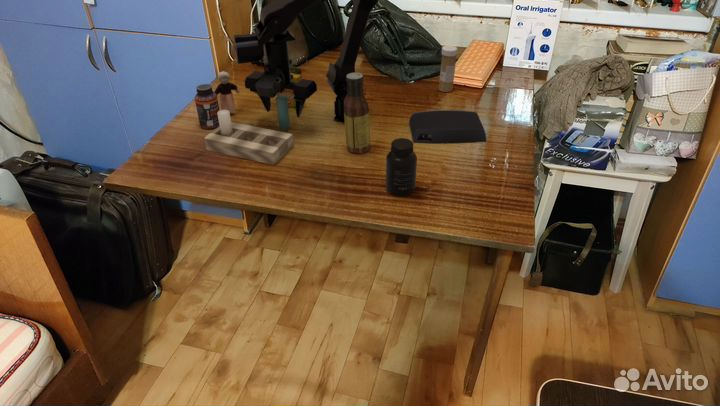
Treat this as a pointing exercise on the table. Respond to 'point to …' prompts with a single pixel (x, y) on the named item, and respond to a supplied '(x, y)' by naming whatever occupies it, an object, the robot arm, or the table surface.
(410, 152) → the supplement bottle
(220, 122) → the cream peg
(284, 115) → the teal peg
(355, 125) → the sauce bottle
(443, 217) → the table surface
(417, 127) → the external hard drive
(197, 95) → the supplement bottle
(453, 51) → the sprinkles bottle
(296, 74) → the crayon box
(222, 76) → the grandmother figurine
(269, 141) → the hole block
